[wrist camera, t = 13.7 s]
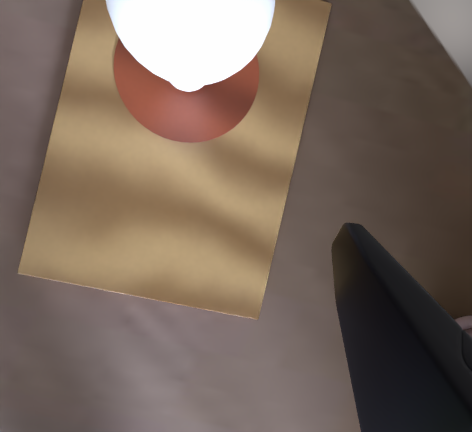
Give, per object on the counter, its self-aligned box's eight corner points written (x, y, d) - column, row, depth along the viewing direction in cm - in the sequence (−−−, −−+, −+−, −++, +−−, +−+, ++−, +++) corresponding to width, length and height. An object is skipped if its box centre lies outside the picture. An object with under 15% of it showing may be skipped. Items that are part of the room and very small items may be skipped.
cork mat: (256, 317, 23) (258, 320, 22) (20, 272, 21) (16, 274, 20) (328, 7, 23) (332, 2, 23) (102, -70, 21) (100, -78, 20)
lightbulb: (163, 144, 21) (146, 79, 10) (114, 44, 21) (42, -133, 10) (256, 101, 22) (331, -1, 11) (211, 4, 21) (244, -202, 11)
